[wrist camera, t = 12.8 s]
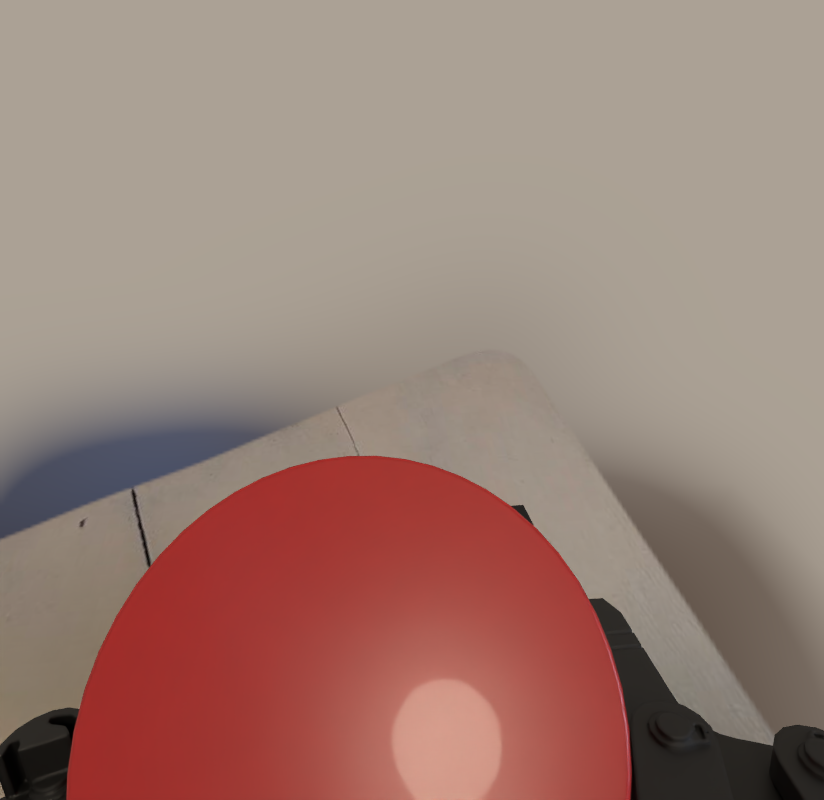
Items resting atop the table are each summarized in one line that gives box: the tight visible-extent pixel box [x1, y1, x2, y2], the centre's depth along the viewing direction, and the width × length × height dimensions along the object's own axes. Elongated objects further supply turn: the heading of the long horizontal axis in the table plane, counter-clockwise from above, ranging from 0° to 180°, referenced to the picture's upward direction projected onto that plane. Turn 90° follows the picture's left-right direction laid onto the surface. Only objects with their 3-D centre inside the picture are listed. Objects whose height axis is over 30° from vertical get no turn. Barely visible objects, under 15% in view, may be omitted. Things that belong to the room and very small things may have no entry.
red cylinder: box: [66, 456, 632, 800], centre depth 12 cm, size 7×7×12 cm
